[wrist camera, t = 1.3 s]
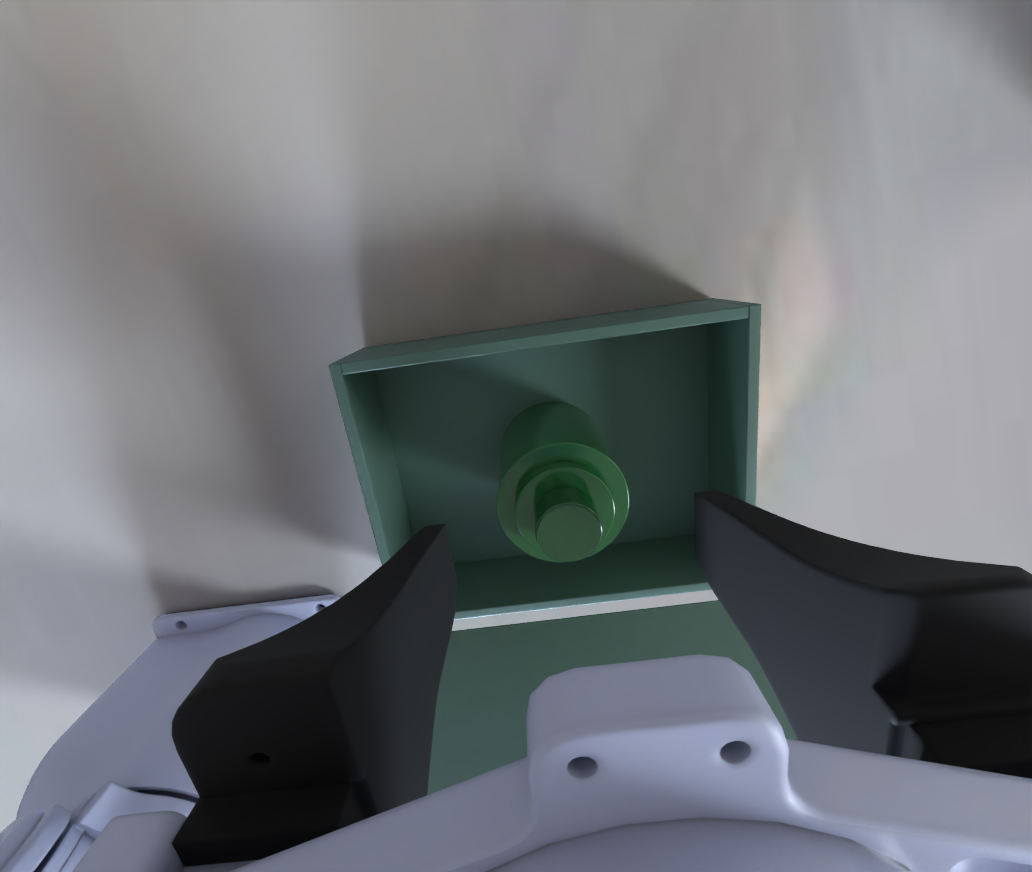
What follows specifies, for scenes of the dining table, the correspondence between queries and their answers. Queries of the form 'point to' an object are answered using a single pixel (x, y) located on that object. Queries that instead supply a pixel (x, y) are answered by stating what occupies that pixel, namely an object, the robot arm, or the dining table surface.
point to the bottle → (559, 484)
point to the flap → (551, 650)
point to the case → (593, 389)
